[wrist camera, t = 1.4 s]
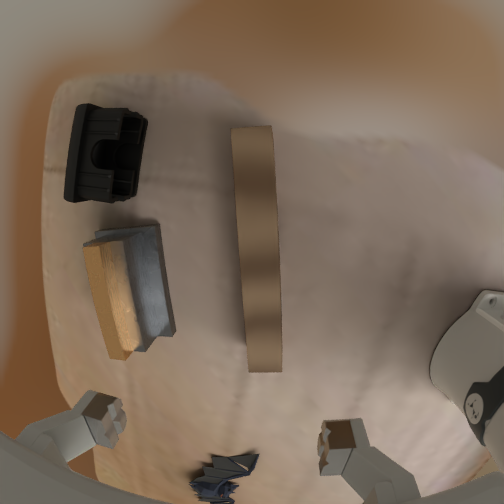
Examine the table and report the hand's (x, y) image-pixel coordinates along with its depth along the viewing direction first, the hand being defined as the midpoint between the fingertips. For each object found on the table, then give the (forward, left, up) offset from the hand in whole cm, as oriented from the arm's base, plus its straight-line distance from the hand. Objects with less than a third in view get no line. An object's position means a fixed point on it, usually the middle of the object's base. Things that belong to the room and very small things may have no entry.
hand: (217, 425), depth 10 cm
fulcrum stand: (+15, +1, -22) cm, 27 cm away
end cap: (+15, -14, -23) cm, 31 cm away
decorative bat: (+10, +42, -23) cm, 50 cm away
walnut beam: (0, -2, -23) cm, 23 cm away
